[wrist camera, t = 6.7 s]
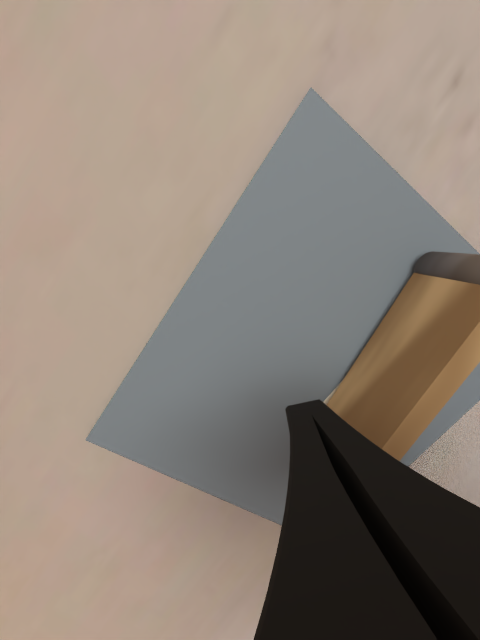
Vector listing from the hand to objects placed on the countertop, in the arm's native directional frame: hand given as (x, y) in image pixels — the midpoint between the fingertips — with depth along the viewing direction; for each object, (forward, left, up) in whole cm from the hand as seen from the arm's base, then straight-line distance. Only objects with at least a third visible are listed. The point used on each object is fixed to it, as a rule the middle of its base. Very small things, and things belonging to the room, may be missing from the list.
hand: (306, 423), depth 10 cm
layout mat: (0, +3, -6) cm, 7 cm away
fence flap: (-4, +4, -5) cm, 8 cm away
